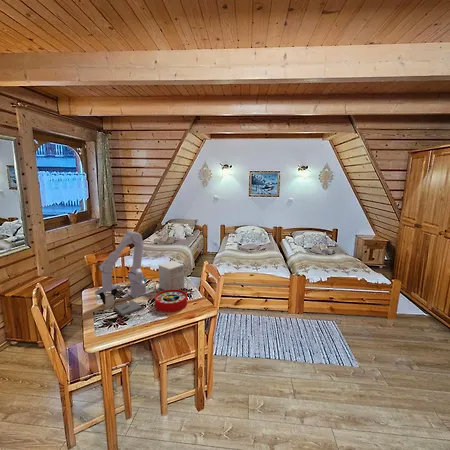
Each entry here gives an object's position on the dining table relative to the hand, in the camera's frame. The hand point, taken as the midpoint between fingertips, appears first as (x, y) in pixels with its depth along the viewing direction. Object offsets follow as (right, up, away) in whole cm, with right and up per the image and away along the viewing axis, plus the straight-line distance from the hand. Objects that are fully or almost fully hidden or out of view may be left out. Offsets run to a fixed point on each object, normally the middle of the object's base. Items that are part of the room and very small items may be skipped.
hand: (108, 302), depth 163 cm
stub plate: (+14, -3, -5) cm, 15 cm away
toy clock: (+39, -2, +1) cm, 39 cm away
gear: (+9, +4, +32) cm, 33 cm away
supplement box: (+35, +3, +26) cm, 43 cm away
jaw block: (0, -2, 0) cm, 2 cm away
